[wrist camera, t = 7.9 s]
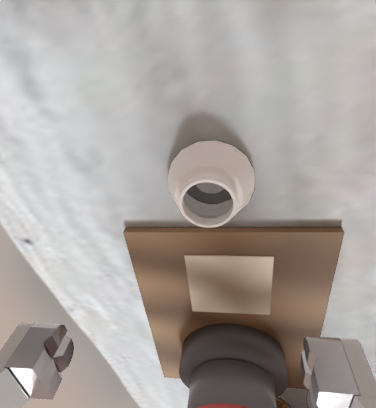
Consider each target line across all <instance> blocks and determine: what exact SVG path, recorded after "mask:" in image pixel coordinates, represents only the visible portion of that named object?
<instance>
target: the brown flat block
mask: <svg viewBox="0 0 376 408" xmlns="http://www.w3.org/2000/svg"><path fill="white" fill-rule="evenodd" d="M123 233H124V236H125V240H126V243H127V247H128V250H129V254H130V257H131V261H132V264H133V268H134V272H135V275H136V279H137V282H138V286H139V289H140V293H141V296H142V300H143V303H144V307H145V311H146V314H147V318H148V321H149V325H150V328H151V332H152V335H153V339H154V342H155V346H156V350H157V353H158V357H159V360H160V364H161V367H162V371H163V374H164V377H169V378H181V380H182V382H183V383H184V384H185V385H186V386H187V387H188V388H189V389H190V383H191V375H192V372H193V370H194V369H195V368H196V367H198V366H199V365H201V364H203V363H206V362H209V361H214V360H237V361H243V362H247V363H250V364H253V365H255V366H258V367H260V368H261V369H263V370H265V371H266V372H267V373H268V374H269V375H270V376H271V377H272V379H273V381H274V387H275V397H278V396H279V395H280V394H282V393H283V392H284V391H285V389H286V387H289V388H301V389H307V388H306V386H305V385H304V384H303V379H302V373H301V352H302V351H304V347H303V340H304V338H305V337H320V334H321V330H322V326H323V321H324V317H325V313H326V308H327V304H328V300H329V295H330V291H331V287H332V282H333V278H334V274H335V270H336V265H337V261H338V257H339V252H340V248H341V244H342V239H343V235H344V231H343V229H342V227H278V228H125V230H124V232H123Z"/></svg>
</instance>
